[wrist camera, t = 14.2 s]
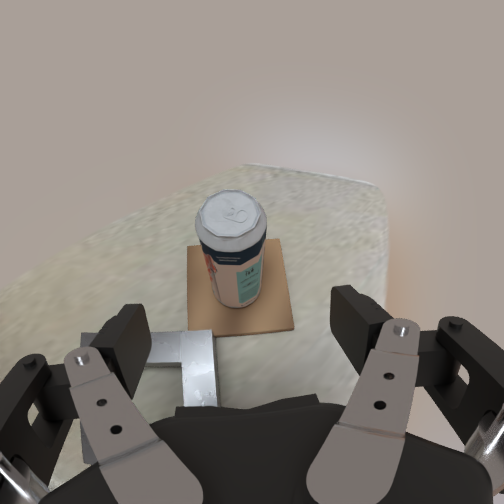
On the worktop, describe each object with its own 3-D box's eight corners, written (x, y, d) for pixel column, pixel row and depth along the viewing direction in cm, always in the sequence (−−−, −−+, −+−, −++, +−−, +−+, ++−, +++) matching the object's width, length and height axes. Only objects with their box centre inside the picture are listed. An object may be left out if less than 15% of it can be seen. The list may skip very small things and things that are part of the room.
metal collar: (98, 459, 20) (83, 462, 17) (95, 340, 26) (81, 332, 24) (227, 468, 20) (224, 475, 18) (215, 337, 27) (211, 329, 24)
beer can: (224, 259, 30) (211, 177, 20) (267, 274, 29) (277, 194, 19) (205, 299, 28) (179, 230, 18) (251, 316, 27) (252, 253, 17)
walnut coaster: (189, 339, 27) (188, 337, 26) (188, 250, 32) (187, 246, 31) (293, 330, 27) (294, 327, 27) (278, 242, 32) (279, 238, 32)
